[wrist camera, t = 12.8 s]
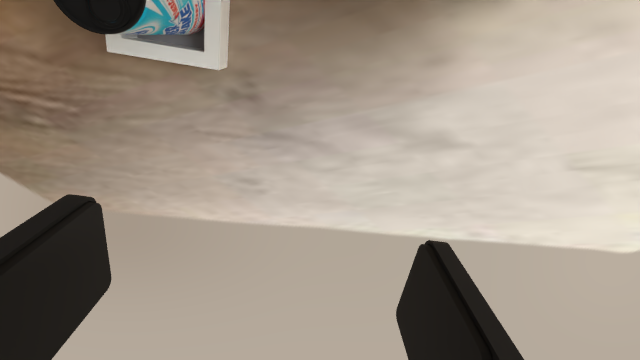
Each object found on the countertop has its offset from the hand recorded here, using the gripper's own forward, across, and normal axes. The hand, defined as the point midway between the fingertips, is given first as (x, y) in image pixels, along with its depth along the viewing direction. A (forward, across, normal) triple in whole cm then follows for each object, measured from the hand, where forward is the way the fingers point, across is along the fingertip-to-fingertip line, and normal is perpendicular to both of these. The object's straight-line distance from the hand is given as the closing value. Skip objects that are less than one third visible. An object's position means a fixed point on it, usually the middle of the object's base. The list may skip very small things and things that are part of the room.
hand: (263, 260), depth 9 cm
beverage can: (+30, +13, -7) cm, 34 cm away
